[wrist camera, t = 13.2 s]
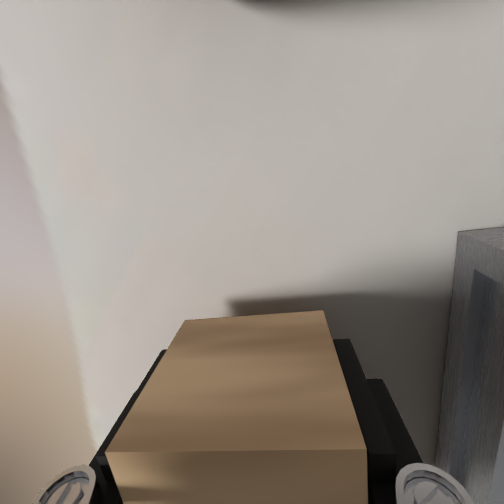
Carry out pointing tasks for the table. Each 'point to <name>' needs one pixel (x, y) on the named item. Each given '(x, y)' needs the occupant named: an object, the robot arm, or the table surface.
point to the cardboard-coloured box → (244, 419)
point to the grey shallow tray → (475, 369)
